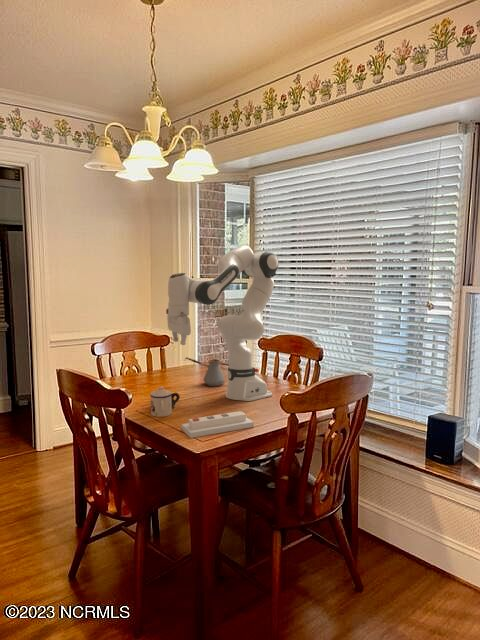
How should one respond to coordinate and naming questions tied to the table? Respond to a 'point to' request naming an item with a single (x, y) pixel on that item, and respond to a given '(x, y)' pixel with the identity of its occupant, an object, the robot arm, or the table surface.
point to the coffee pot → (212, 373)
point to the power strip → (217, 420)
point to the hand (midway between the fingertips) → (179, 343)
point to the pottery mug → (173, 399)
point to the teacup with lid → (161, 402)
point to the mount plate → (216, 428)
